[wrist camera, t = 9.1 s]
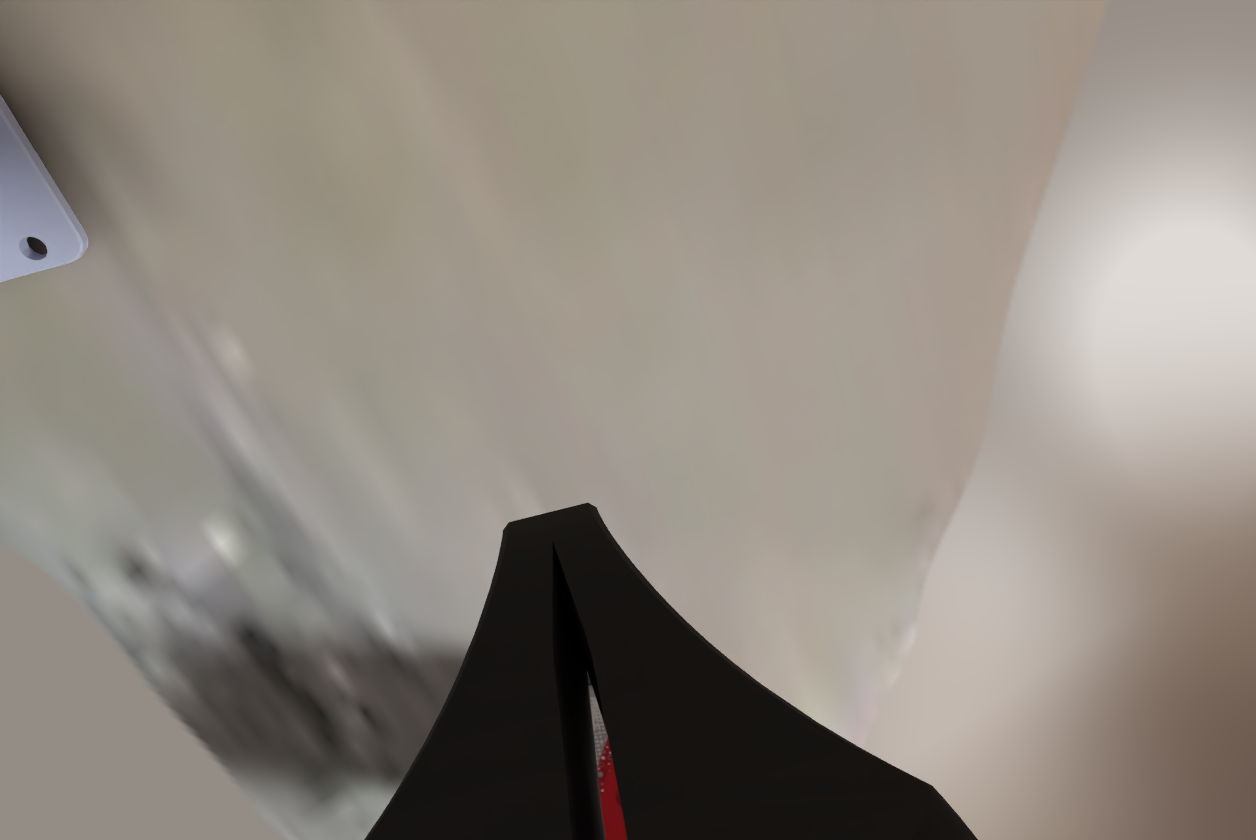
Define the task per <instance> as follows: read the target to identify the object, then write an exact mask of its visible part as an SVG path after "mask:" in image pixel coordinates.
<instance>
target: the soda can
mask: <svg viewBox="0 0 1256 840" xmlns="http://www.w3.org/2000/svg"><path fill="white" fill-rule="evenodd" d="M589 694H590V703H591V712H592V722H593V731H594V741H595V750H596V760H597V769H598V779H599V788H600V798H601V807H602V815H603V821H604V828H605V835H606V840H628V839H627V834H626V828H625V823H624V817H623V812H622V807H621V802H620V797H619V791H618V786H617V781H616V776H615V771H614V765H613V760H612V755H611V750H610V745H609V740H608V735H607V732H606V728H605V725H604V722H603V719H602V716H601V713H600V710H599V706H598V703H597V700H596V697H595V694H594V691H593V687H592V685H589Z"/></svg>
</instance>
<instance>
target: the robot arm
mask: <svg viewBox="0 0 1256 840" xmlns="http://www.w3.org/2000/svg"><path fill="white" fill-rule="evenodd" d="M28 237H35V238H37V239H39V240H41V241H42V242H43V243H44V244H45V245H46V248H47V251H48V252H47V255H41V254H39V253H36V252H34V251H33V250H32V249H31V248H30V247H29V246H28V243H27V238H28ZM87 249H88V238H87V235H86V233H85V231H84V229H83V227H82V226H81V224H80V222H79V221H78V219H77V218H76V216H75V214H74V213H73V211H72V210H71V208H70V206H69V205H68V203H67V201H66V200H65V198H64V197H63V195H62V193H61V192H60V190H59V188H58V187H57V185H56V184H55V182H54V180H53V179H52V177H51V176H50V174H49V172H48V171H47V169H46V167H45V166H44V164H43V163H42V161H41V159H40V158H39V156H38V154H37V153H36V151H35V150H34V148H33V146H32V145H31V143H30V142H29V140H28V138H27V137H26V135H25V133H24V132H23V130H22V129H21V127H20V125H19V124H18V122H17V120H16V119H15V117H14V116H13V114H12V112H11V111H10V109H9V108H8V106H7V104H6V103H5V101H4V99H3V98H2V96H1V95H0V282H2V281H6V280H10V279H13V278H17V277H21V276H24V275H28V274H31V273H35V272H39V271H42V270H46V269H50V268H53V267H57V266H61V265H64V264H68V263H71V262H73V261H75V260H77V259H79V258H80V257H81V256H82V255H83V254H84V253H85V252H86V250H87ZM587 672H588V675H589V678H590V681H591V684H592V687H593V691H594V694H595V697H596V700H597V703H598V706H599V710H600V713H601V716H602V719H603V722H604V725H605V728H606V732H607V735H608V740H609V745H610V750H611V755H612V760H613V765H614V771H615V776H616V781H617V786H618V791H619V797H620V802H621V807H622V812H623V817H624V823H625V828H626V834H627V839H628V840H978V839H977V838H976V837H975V836H974V834H973V833H972V832H971V831H970V829H969V828H968V827H967V825H966V824H965V823H964V822H963V821H962V819H961V818H960V817H959V815H958V814H957V813H956V812H955V811H954V810H953V809H952V807H951V806H950V805H949V804H948V803H947V802H946V801H945V799H943V797H942V796H941V795H940V794H939V793H938V792H937V790H936V789H935V788H934V787H933V786H931V785H930V784H928V783H926V782H924V781H922V780H920V779H918V778H916V777H914V776H912V775H910V774H908V773H906V772H904V771H902V770H900V769H898V768H896V767H894V766H892V765H891V764H888V763H887V762H885V761H883V760H881V759H880V758H878V757H876V756H874V755H872V754H870V753H869V752H867V751H865V750H863V749H861V748H860V747H858V746H856V745H854V744H853V743H851V742H849V741H848V740H846V739H844V738H843V737H841V736H839V735H838V734H836V733H834V732H833V731H831V730H829V729H828V728H826V727H824V726H823V725H821V724H819V723H818V722H816V721H815V720H813V719H812V718H810V717H809V716H807V715H806V714H804V713H803V712H801V711H800V710H798V709H797V708H795V707H794V706H792V705H791V704H790V703H788V702H787V701H785V700H784V699H782V698H781V697H779V696H778V695H776V694H775V693H773V692H772V691H770V690H769V689H767V688H766V687H765V686H763V685H762V684H760V683H759V682H758V681H756V680H755V679H754V678H752V677H751V676H750V675H749V674H747V673H746V672H745V671H743V670H742V669H741V668H740V667H738V666H737V665H736V664H734V663H733V662H732V661H731V660H729V659H728V658H727V657H726V656H725V655H724V654H722V653H721V652H720V651H719V650H718V649H716V648H715V647H714V646H713V645H712V644H710V643H709V642H708V641H707V640H706V639H705V638H704V637H703V636H702V635H700V634H699V633H698V632H697V631H696V630H695V629H694V628H693V627H692V626H691V625H690V624H689V623H688V622H686V621H685V620H684V619H683V618H682V617H681V616H680V615H679V614H678V613H677V612H676V611H675V610H674V609H673V608H672V607H671V606H670V605H669V604H668V603H667V601H666V600H665V599H664V598H663V597H662V596H661V595H660V594H659V593H658V592H657V591H656V590H655V589H654V587H653V586H652V585H651V584H650V583H649V582H648V581H647V579H646V578H645V577H644V576H643V575H642V574H641V572H640V571H639V570H638V569H637V568H636V567H635V565H634V564H633V563H632V562H631V560H630V559H629V558H628V557H627V555H626V554H625V553H624V551H623V550H622V549H621V547H620V546H619V545H618V543H617V542H616V541H615V539H614V538H613V536H612V535H611V533H610V532H609V530H608V529H607V527H606V525H605V524H604V522H603V520H602V518H601V516H600V515H599V512H598V510H597V508H596V507H595V506H593V505H591V504H589V503H585V504H581V505H577V506H573V507H569V508H565V509H561V510H557V511H553V512H549V513H545V514H541V515H537V516H533V517H529V518H525V519H521V520H517V521H513V522H509V523H508V524H507V526H506V527H505V529H504V530H503V536H502V542H501V547H500V552H499V557H498V561H497V565H496V569H495V572H494V576H493V580H492V583H491V587H490V590H489V593H488V596H487V599H486V602H485V605H484V608H483V611H482V614H481V617H480V620H479V623H478V626H477V629H476V631H475V634H474V637H473V639H472V641H471V644H470V646H469V649H468V651H467V654H466V656H465V659H464V661H463V663H462V666H461V668H460V671H459V673H458V676H457V678H456V680H455V682H454V685H453V687H452V689H451V691H450V693H449V695H448V698H447V700H446V702H445V704H444V706H443V708H442V710H441V712H440V714H439V716H438V718H437V720H436V722H435V724H434V726H433V728H432V730H431V731H430V733H429V735H428V737H427V739H426V741H425V743H424V745H423V746H422V748H421V750H420V752H419V753H418V755H417V757H416V759H415V760H414V762H413V764H412V765H411V767H410V769H409V771H408V772H407V774H406V776H405V778H404V779H403V781H402V783H401V784H400V786H399V788H398V789H397V791H396V793H395V794H394V796H393V797H392V799H391V801H390V802H389V804H388V805H387V807H386V809H385V810H384V812H383V813H382V815H381V816H380V818H379V819H378V821H377V822H376V824H375V825H374V826H373V828H372V829H371V831H370V832H369V834H368V835H367V837H366V838H365V839H364V840H606V835H605V828H604V821H603V815H602V807H601V798H600V788H599V779H598V769H597V760H596V750H595V741H594V731H593V722H592V712H591V703H590V694H589V685H588V676H587Z"/></svg>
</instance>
